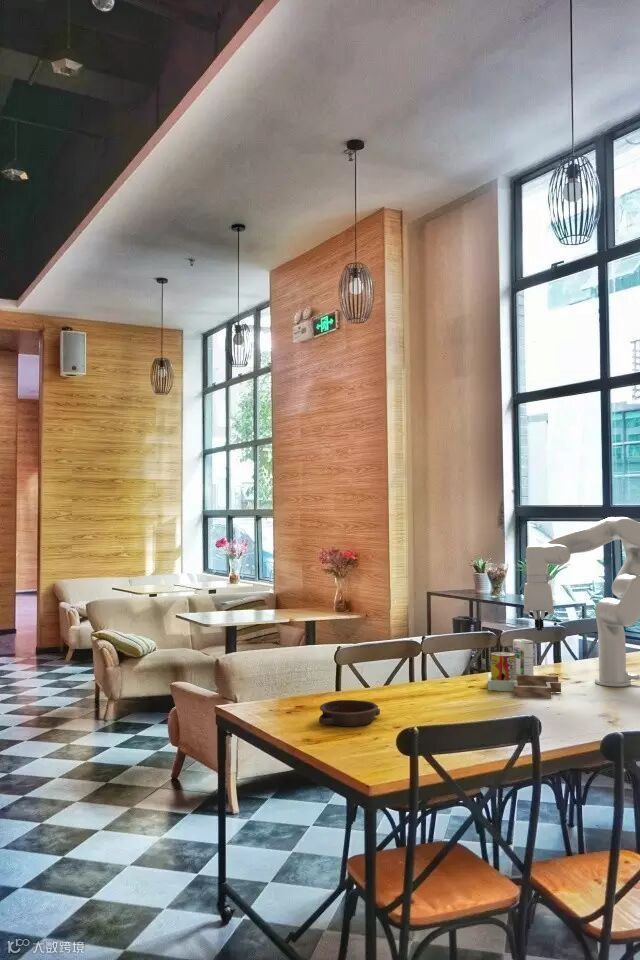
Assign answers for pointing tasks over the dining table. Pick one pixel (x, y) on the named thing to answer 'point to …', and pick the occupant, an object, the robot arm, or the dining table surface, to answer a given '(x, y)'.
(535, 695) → the open walled frame
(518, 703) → the dining table surface
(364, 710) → the dish
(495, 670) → the beverage can
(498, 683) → the end bay
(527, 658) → the syrup box
